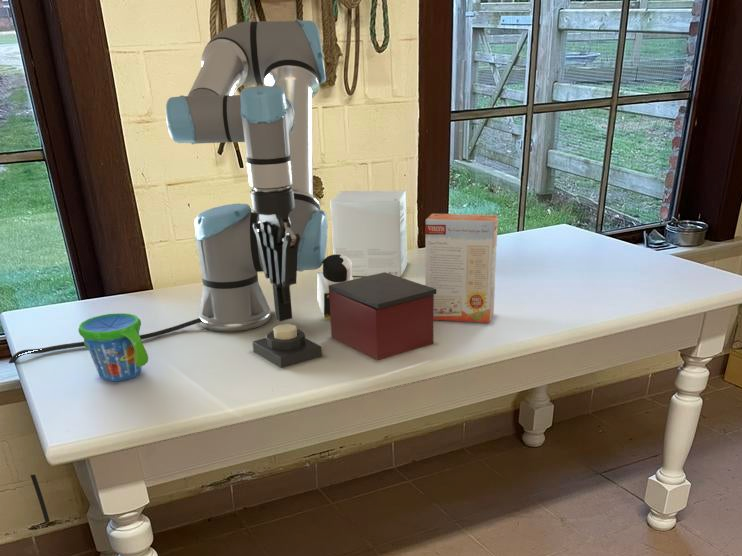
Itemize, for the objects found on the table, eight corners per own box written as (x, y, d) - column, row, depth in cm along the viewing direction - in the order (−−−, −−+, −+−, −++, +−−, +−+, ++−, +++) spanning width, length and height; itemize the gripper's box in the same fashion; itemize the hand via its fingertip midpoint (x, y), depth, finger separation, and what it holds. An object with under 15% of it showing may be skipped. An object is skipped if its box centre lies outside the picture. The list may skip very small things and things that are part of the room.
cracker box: (494, 315, 170) (499, 213, 158) (489, 324, 165) (494, 220, 154) (430, 311, 173) (431, 211, 162) (424, 320, 168) (424, 218, 157)
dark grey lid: (436, 293, 150) (436, 289, 150) (378, 309, 143) (378, 304, 143) (384, 276, 162) (384, 272, 161) (328, 289, 155) (328, 285, 154)
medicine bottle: (323, 319, 170) (324, 272, 160) (316, 299, 174) (316, 252, 165) (355, 316, 171) (358, 268, 162) (348, 296, 176) (350, 248, 166)
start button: (301, 337, 151) (300, 328, 150) (281, 342, 149) (280, 333, 148) (289, 331, 154) (288, 322, 153) (270, 336, 152) (269, 327, 151)
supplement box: (408, 263, 206) (407, 189, 196) (401, 277, 194) (400, 200, 185) (343, 262, 208) (339, 189, 198) (333, 276, 197) (328, 200, 187)
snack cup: (73, 373, 148) (60, 320, 142) (123, 356, 154) (112, 305, 149) (118, 395, 139) (105, 340, 133) (168, 377, 145) (158, 323, 140)
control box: (322, 357, 152) (320, 337, 150) (281, 368, 147) (279, 348, 145) (292, 341, 159) (291, 322, 157) (253, 351, 155) (251, 332, 153)
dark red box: (433, 343, 156) (433, 294, 151) (377, 360, 149) (375, 309, 144) (386, 323, 167) (384, 276, 162) (331, 338, 160) (328, 290, 155)
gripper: (309, 190, 134) (319, 323, 147) (271, 179, 143) (283, 305, 156) (271, 196, 131) (284, 332, 144) (234, 184, 139) (250, 314, 152)
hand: (284, 318), depth 150 cm, fingers closed
